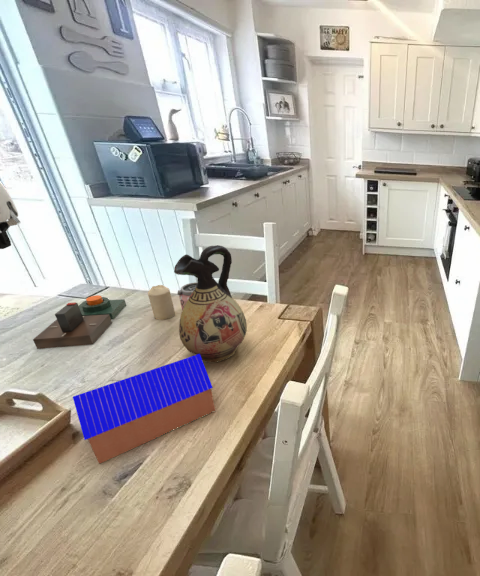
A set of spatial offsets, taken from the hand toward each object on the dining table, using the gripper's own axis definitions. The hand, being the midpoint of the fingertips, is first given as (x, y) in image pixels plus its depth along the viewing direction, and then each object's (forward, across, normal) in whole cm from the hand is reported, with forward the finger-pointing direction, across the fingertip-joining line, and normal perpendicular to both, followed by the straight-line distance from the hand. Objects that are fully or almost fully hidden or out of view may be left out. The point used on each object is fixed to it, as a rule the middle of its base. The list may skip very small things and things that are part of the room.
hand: (3, 247), depth 83 cm
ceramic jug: (+23, +52, -22) cm, 61 cm away
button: (+20, +13, +4) cm, 24 cm away
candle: (+23, +32, 0) cm, 40 cm away
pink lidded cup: (+23, +43, -5) cm, 49 cm away
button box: (+23, +13, +4) cm, 27 cm away
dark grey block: (+20, +13, -8) cm, 25 cm away
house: (+23, +43, -43) cm, 65 cm away
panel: (+23, +13, -8) cm, 28 cm away
